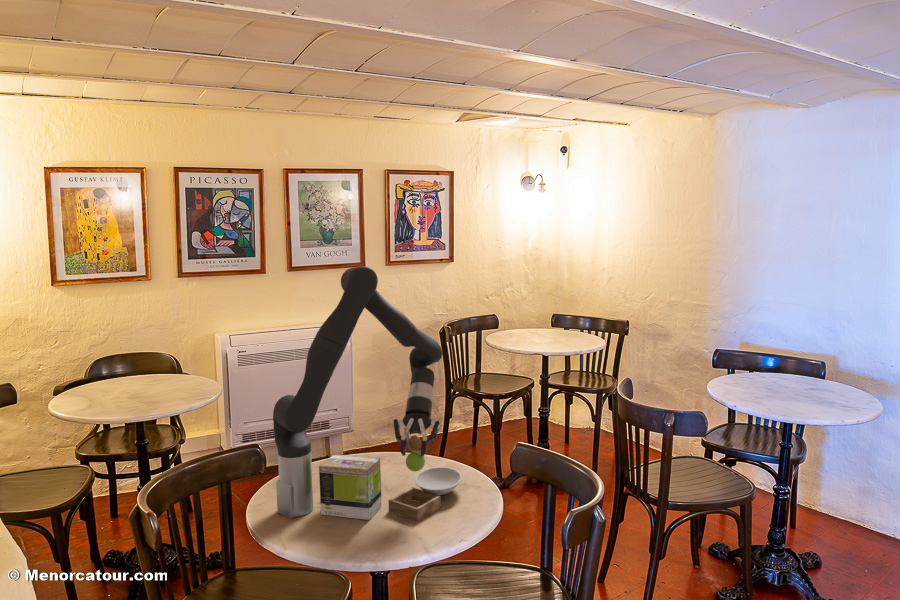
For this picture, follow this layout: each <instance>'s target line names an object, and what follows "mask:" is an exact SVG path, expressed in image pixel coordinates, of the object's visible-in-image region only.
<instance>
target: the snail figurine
mask: <svg viewBox="0 0 900 600" xmlns="http://www.w3.org/2000/svg"><path fill="white" fill-rule="evenodd" d="M405 429H407V427H404V428H403V430H405ZM405 436H406V443H407V448H408V450H409V451H410V453H409V454H408V455H407V456H406V459H405V465H406V467H407V469H408V470H410V471H412V472H420V471H422V470H423V468H424V466H425V464H426V457H425V455H424V456H421V446H422V441H421V440H422V439H420V437H419V436H418V435H417V434H416V435H413V434H412V435H411V436H410V437H409V432H405Z"/></svg>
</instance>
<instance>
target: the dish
mask: <svg viewBox="0 0 900 600" xmlns="http://www.w3.org/2000/svg"><path fill="white" fill-rule="evenodd" d="M462 480H463V474H462V473H461V472H460V471H459V470H457V469H455V468H453V467H448V466H434V467H428V468H425V469H422V470H420V471H418V473H417V474H416V475H415V476H414V483H415V485H416V486H417V487H419V489H420V490H423V491H426V492H429V493H432V494H435V495H438V496H442V495H446V494H448V493H451V492H452V491H453V490H454V489H456V488H457V486H458V485H459V484H460V483H462Z"/></svg>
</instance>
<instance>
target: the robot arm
mask: <svg viewBox="0 0 900 600" xmlns="http://www.w3.org/2000/svg"><path fill="white" fill-rule="evenodd" d="M378 281H379V279H378V275H377V273H376V271H375V270H374V269H373V268H372V267H369V266H365V265H364V266H363V265H361V266H354V267H350V268H348V269H346V270H345V271H343V273H342V275H341V277H340V286H341V289H342V290H343V293H342V296H341V298H340V300H339V302H338V303H337V306H336V307H335V309H334V310H333V311H332V312H331V314H329V316H328V317H327V318H326V319H325V321H324V322H323V323H322V325H321V326H320V327H319V329H318V331H317V332H316V334H315V336H314V338H313V340H312V342H311V345H310V346H309V349H308V351H307V356H306V360H305V361H306V362H305V370H304V371H305V372H304V376H303V380H302V382H301V385H300V386H299V389H298V390H297V392H296V394H295V395H294V394H287V395H284V396H281V397H280V398H279V399H278V400H277V401H276V403H275V404H274V407H273V412H272V420H273V421H272V423H273V424H272V425H273V434H274V435H273V436H274V443H275V444H276V448H277V463H278V480H276V481H275V486H276V505H277V506H276V508H277V511H276V512H277V513H278V514H280V515H283V516H284V517H287V518H289V519H293V518H296V517H302V516H305V515H307V514H310V513H312V511H313V510H314V497H313V496H314V490H313V489H314V488H313V465H312V464H313V463H312V462H313V461H312V443H311V440H310V438H309V436H308V434H307V431H306V430H308V429H309V427H310V426H311V425H312V424H313V421H314V419H315V417H316V415H317V412H318V410H319V407H320V404H321V401H322V399H323V396H324V393H325V390H326V388H327V386H328V384H329V382H330V380H331V378H332V376H333V375H334V372H335V369H336V368H337V366H338V364H339V362H340V360H341V357H342V356H343V354H344V352H345V349H346V348H347V346H348V343H349V341H350V338H351V337H352V335H353V333H354V330H355V328H356V326H357V323H358V321H359V318H360V317H361V315H362V313H363V312H364V311H365V309H366V311H368V312H369V313H370V314H372V316H373V317H375V319H377V321H379V322H380V324H381V325H382V326H383V327H384V328H385V329H386V330H387V331H388V332H389V333H390V334H391V336H393V338H394V339H395V340H397V342H398V343H399V344H400V345H401V346H403V347H405V348H410V347H413V348H412V349H411V352H410V353H409V358H408V359H409V360H408V361H409V366H410V373H411V379H410V384H409V390H408V393H407V398H406V399H407V400H406V405H405V406H406V407H405V415H404V417H403V418H402V419H399V420H398V419H397V418H396V419H395V418H394V419H393V427H394V435H395V439H396V441H397V442H400V446H399V451H400V453H401V455H402V456H405V457H406V452H407V448H408V446H407V443H406V436H405V432H409V438H410V437H411V436H412V435H413V434H418V435H421V437H422V441H421V443H422V446H421V448H420V450H421V456H424V457H425V455H427V451H428V444H430V443H432V444H433V443H435V441H436V439H437V435H438V433H439V430H440V428H441V422H440V421H439V420H435V421H434V420H432V409H433V402H434V385H435V384H434V383H435V372H434V371H433V370H432V369H431V368H429V366H431V365H433V364H435V363H438V362H439V361H440V360H442V357H443V349H442V347H441V345H440V343H439V342H438V341H437V340H435V339H434V338H433V337H431V336H430V335H428V334H426V333H424V332H423V331H422V330H420V329H418V328H417V326H415V324H414V323H413V322H412V321H411V320H410V319H409V318H408V317H407V316H406V315H405V314H404V313H403V312H402V311H400V310H399V309H398V308H396V307H395V306H394V305H392V303H390V302H389V301H387V299H385V298H384V297H383V296H382V295H381V294H380V292H378V291H377V288H378ZM402 425H404V428H406V427H407V429H405V430H404V429H403V430H404V431H403V433H402V435H401V431H400V429H401V428H402ZM430 427H431V431H430V434H429V436H427V433H426V432H427V430H428V428H430Z"/></svg>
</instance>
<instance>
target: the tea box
mask: <svg viewBox="0 0 900 600" xmlns="http://www.w3.org/2000/svg"><path fill="white" fill-rule="evenodd" d="M381 472H382V471H381V458H380V457H370V456H357V455H347V454H345V455H344V454H332V455H331V456H330V457H329V458H328V459H326V460H325V461H323V462H322V463H321V464H319V466H318V477H319V500H320V501H319V502H320V514H321V515H322V516H332V517H338V518H340V517H341V518H349V519H357V520H359V519H360V520H367V521H370V520H371V518H372V517H374V515H375V514H376V513H377V512H378V511H379V509H380V508H381V507H382V478H381V477H382V474H381Z"/></svg>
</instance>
